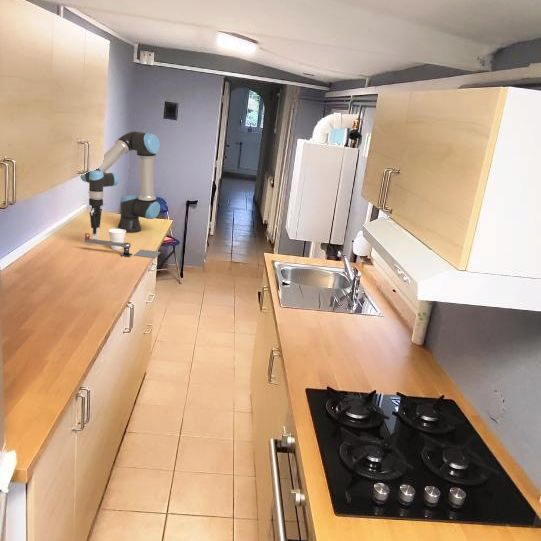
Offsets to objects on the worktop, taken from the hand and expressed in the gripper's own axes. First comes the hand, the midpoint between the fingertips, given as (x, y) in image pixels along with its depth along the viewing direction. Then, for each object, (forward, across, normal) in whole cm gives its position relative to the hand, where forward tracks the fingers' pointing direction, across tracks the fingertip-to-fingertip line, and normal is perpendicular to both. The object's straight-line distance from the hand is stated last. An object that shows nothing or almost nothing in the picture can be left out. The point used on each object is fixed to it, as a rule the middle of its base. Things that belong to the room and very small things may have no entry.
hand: (95, 238), depth 315 cm
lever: (0, +8, +10) cm, 13 cm away
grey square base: (+5, +8, +21) cm, 23 cm away
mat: (+5, +1, +31) cm, 31 cm away
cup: (+5, -2, +12) cm, 13 cm away
